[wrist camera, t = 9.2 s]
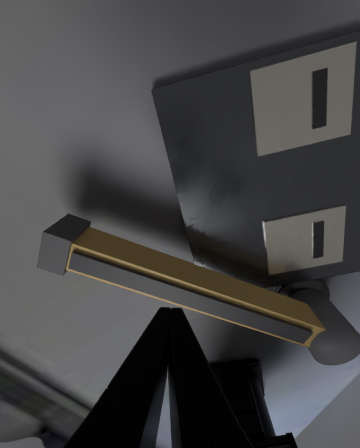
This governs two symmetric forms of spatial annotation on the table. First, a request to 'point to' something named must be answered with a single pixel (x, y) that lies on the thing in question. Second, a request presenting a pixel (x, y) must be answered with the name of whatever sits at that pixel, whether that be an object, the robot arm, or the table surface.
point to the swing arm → (199, 289)
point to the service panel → (270, 165)
